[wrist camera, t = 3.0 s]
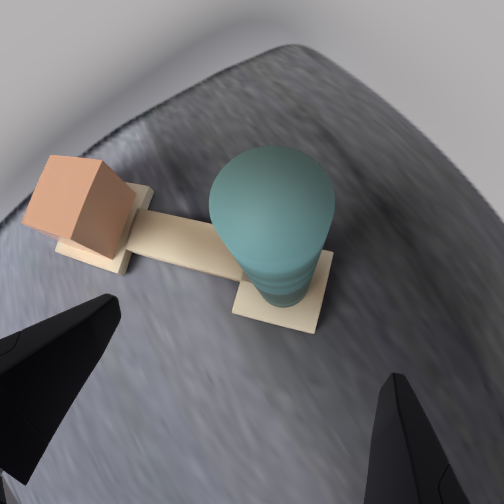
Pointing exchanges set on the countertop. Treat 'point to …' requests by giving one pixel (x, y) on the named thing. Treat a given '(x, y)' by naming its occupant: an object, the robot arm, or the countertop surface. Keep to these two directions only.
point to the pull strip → (201, 259)
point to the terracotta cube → (80, 204)
